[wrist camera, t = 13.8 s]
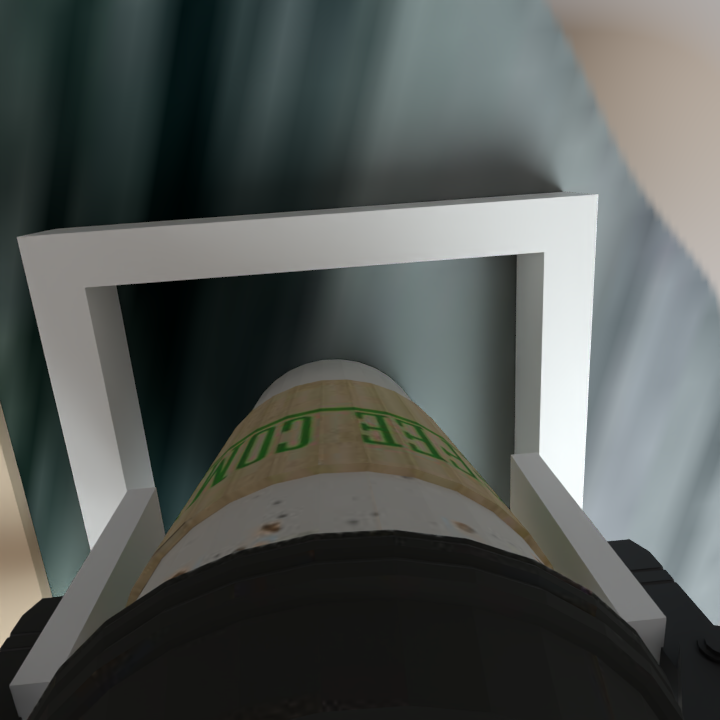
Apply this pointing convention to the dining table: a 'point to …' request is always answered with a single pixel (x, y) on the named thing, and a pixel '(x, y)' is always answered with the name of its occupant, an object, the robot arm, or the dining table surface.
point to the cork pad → (16, 544)
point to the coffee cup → (354, 587)
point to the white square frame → (300, 253)
